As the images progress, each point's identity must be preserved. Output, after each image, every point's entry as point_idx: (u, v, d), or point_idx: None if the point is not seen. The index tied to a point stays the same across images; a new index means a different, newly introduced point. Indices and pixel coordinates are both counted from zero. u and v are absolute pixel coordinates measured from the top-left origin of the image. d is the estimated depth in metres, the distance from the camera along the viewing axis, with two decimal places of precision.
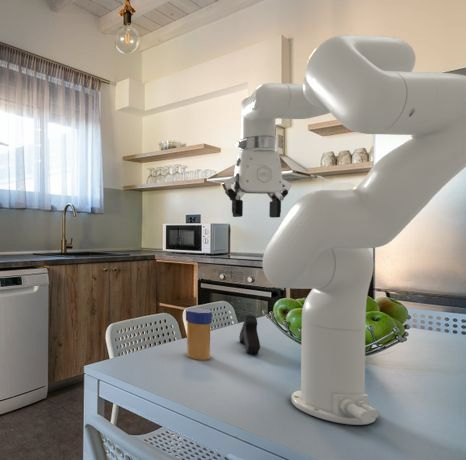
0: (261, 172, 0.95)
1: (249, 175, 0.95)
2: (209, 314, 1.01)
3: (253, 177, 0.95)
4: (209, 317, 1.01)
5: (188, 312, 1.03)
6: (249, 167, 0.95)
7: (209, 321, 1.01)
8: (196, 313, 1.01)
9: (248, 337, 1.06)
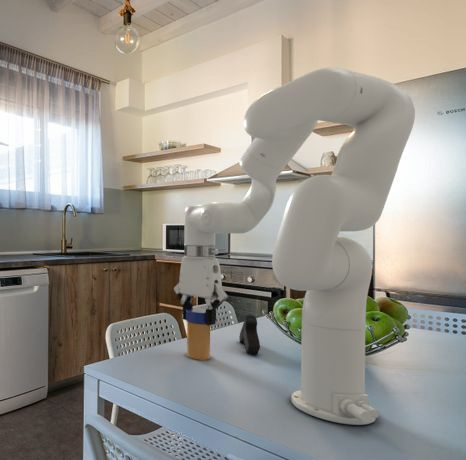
0: None
1: None
2: None
3: None
4: None
5: (188, 312, 1.03)
6: None
7: None
8: (196, 313, 1.01)
9: (248, 337, 1.06)
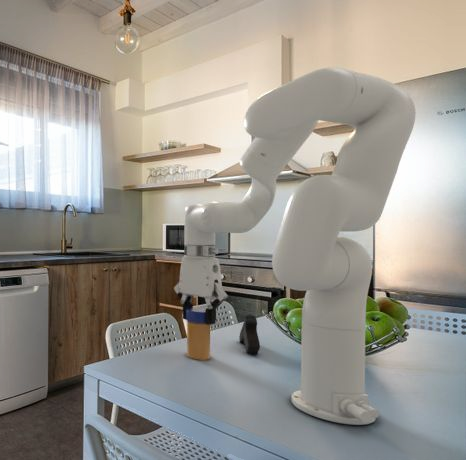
0: None
1: None
2: None
3: None
4: None
5: None
6: None
7: None
8: None
9: (248, 337, 1.06)
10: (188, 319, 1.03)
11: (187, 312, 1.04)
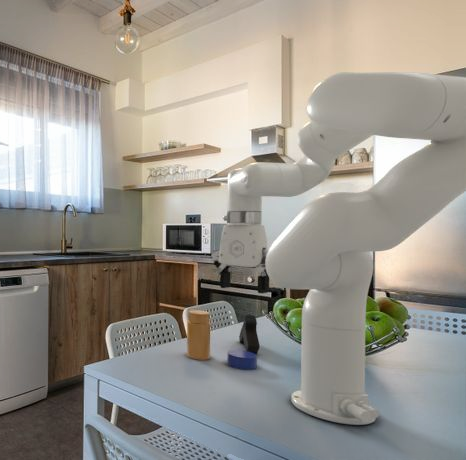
0: (234, 246, 0.96)
1: (223, 249, 0.99)
2: None
3: (226, 251, 0.98)
4: None
5: (244, 359, 0.94)
6: (223, 241, 0.99)
7: None
8: (253, 358, 0.95)
9: (247, 337, 1.06)
10: None
11: None
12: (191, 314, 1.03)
